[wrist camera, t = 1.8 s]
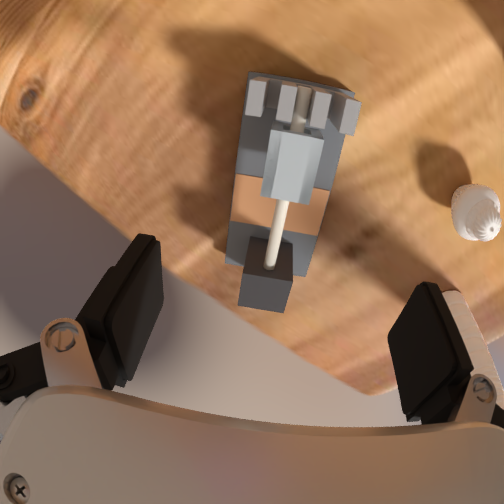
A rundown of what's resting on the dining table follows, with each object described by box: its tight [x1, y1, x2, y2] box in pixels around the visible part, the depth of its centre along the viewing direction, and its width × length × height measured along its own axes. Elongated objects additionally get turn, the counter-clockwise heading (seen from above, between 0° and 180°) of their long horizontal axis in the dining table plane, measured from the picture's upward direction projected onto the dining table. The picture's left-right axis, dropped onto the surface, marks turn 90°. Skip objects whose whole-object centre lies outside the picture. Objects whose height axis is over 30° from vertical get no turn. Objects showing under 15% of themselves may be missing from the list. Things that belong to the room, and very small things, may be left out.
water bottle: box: [442, 290, 504, 410], centre depth 26 cm, size 9×6×25 cm
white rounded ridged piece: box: [451, 184, 502, 241], centre depth 24 cm, size 6×6×7 cm
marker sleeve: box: [260, 121, 324, 205], centre depth 22 cm, size 5×4×3 cm
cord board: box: [225, 72, 362, 313], centre depth 26 cm, size 20×9×8 cm, turn 172°
